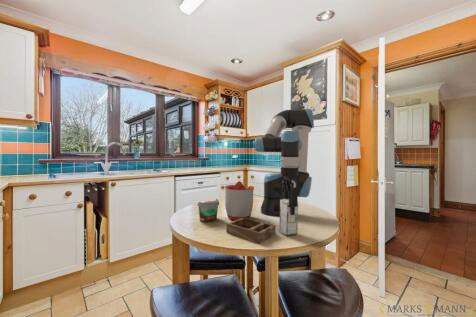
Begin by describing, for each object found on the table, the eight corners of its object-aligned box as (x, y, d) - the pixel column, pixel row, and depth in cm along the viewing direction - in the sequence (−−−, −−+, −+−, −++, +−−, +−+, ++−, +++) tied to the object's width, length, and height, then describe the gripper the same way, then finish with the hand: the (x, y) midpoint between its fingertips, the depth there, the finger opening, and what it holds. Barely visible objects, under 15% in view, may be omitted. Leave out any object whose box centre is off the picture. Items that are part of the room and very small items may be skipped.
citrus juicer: (259, 215, 123) (260, 180, 122) (244, 224, 108) (245, 184, 107) (235, 211, 131) (236, 178, 130) (218, 219, 116) (219, 181, 115)
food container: (203, 224, 107) (204, 204, 107) (197, 221, 112) (197, 202, 111) (223, 219, 115) (224, 200, 115) (217, 216, 120) (217, 198, 119)
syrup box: (290, 229, 100) (290, 197, 100) (297, 234, 95) (298, 200, 94) (279, 230, 98) (279, 198, 98) (286, 235, 93) (286, 201, 92)
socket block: (243, 225, 107) (243, 217, 106) (275, 234, 96) (275, 225, 96) (226, 232, 97) (226, 223, 97) (259, 243, 86) (259, 233, 86)
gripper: (274, 164, 104) (274, 212, 105) (288, 168, 85) (287, 227, 86) (290, 164, 105) (289, 212, 106) (307, 168, 86) (306, 226, 87)
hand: (288, 218), depth 96 cm, fingers closed on syrup box, 6 cm apart
